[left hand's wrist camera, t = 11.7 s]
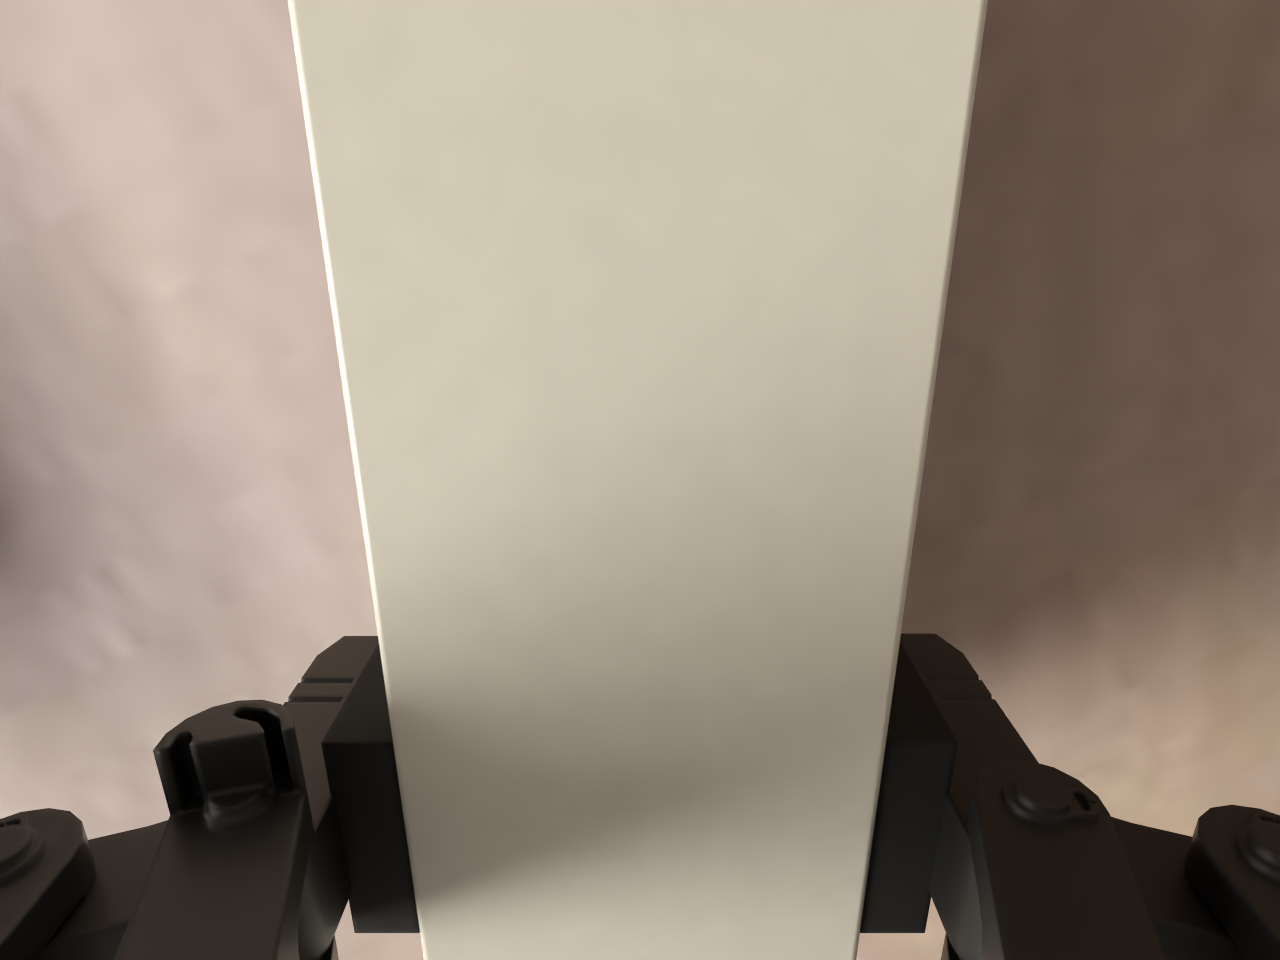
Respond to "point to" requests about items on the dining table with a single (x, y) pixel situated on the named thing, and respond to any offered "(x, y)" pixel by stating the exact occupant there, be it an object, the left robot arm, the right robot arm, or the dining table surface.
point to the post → (638, 442)
